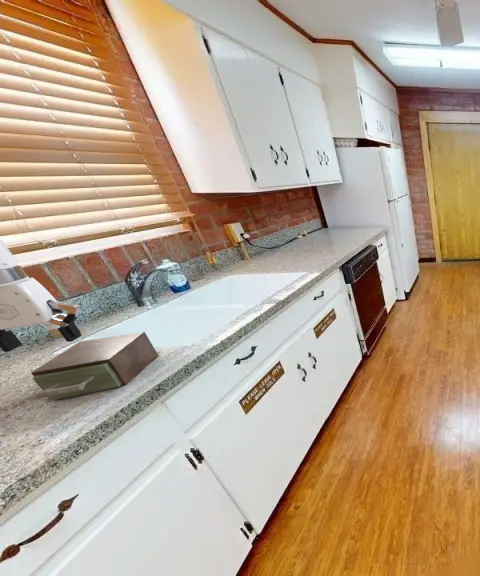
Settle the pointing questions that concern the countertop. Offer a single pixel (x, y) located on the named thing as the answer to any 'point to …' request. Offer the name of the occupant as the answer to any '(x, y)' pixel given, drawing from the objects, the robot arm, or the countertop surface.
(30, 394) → the countertop surface
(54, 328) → the sprinkles bottle
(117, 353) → the cabinet
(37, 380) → the drawer
